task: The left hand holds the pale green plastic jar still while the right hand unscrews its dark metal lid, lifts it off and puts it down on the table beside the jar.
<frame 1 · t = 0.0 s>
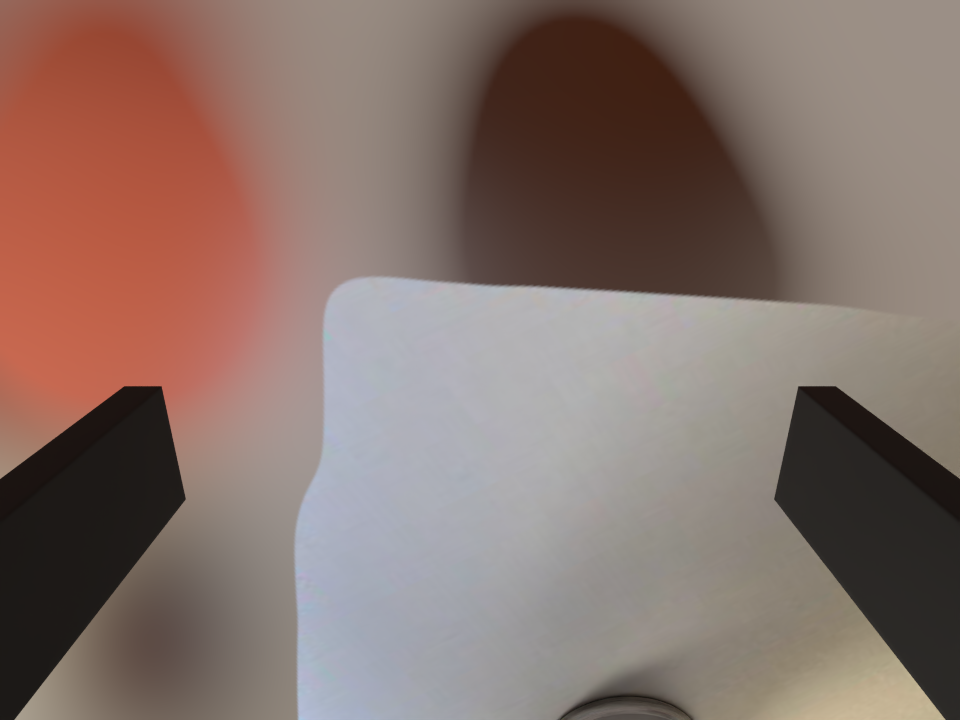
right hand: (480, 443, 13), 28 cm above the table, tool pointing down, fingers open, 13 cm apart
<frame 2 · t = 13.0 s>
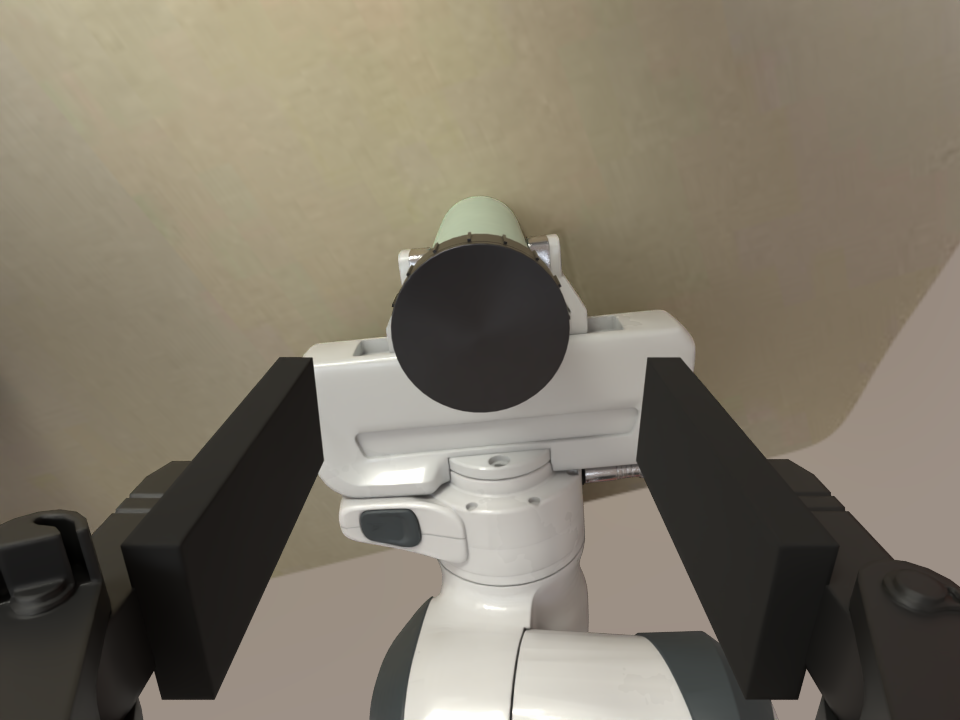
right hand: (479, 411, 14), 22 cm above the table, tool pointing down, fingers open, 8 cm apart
left hand: (477, 243, 29), fingers closed on jar, 5 cm apart
jar: (480, 238, 35), on the table, touching left hand
lid: (480, 329, 20), point 16 cm above the table, screwed on, not yet turned
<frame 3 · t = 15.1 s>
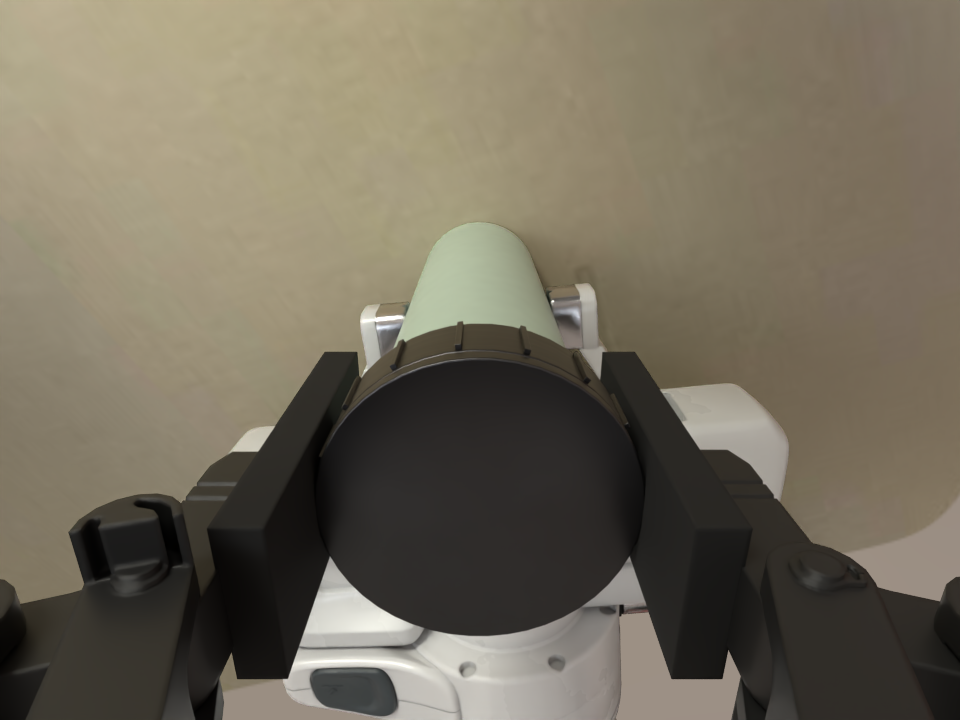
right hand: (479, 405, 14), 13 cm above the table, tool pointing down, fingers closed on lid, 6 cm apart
jar: (479, 277, 26), on the table, touching left hand
lid: (479, 500, 11), point 16 cm above the table, screwed on, not yet turned, touching right hand
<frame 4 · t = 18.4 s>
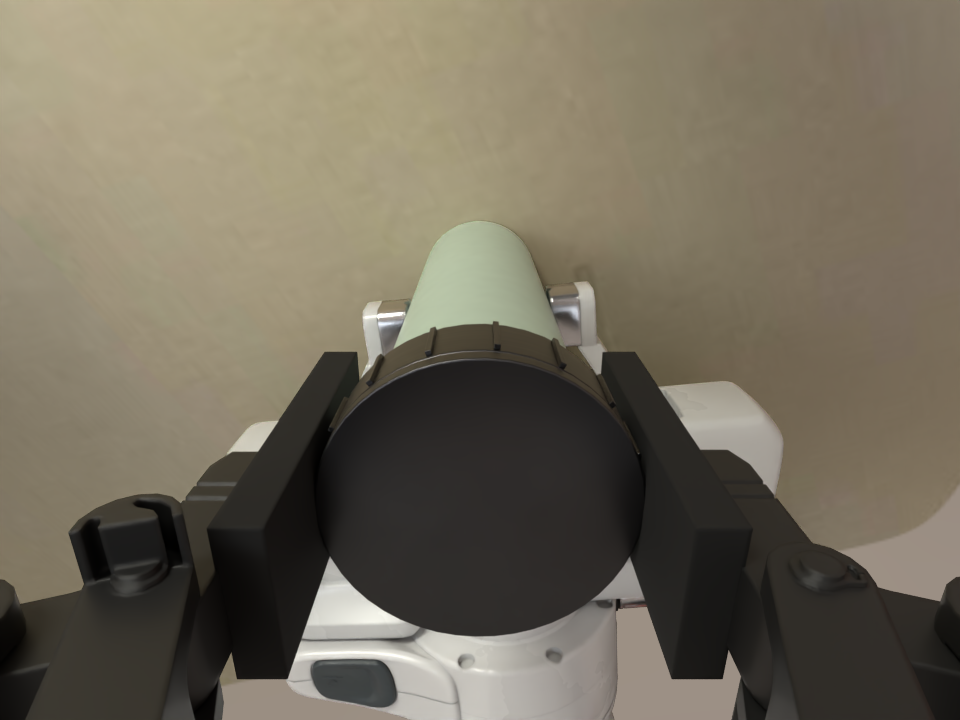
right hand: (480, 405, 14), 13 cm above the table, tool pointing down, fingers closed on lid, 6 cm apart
jar: (479, 276, 26), on the table, touching left hand
lid: (480, 500, 11), point 17 cm above the table, turned 100° so far, risen 0.3 cm, still on its thread, touching right hand
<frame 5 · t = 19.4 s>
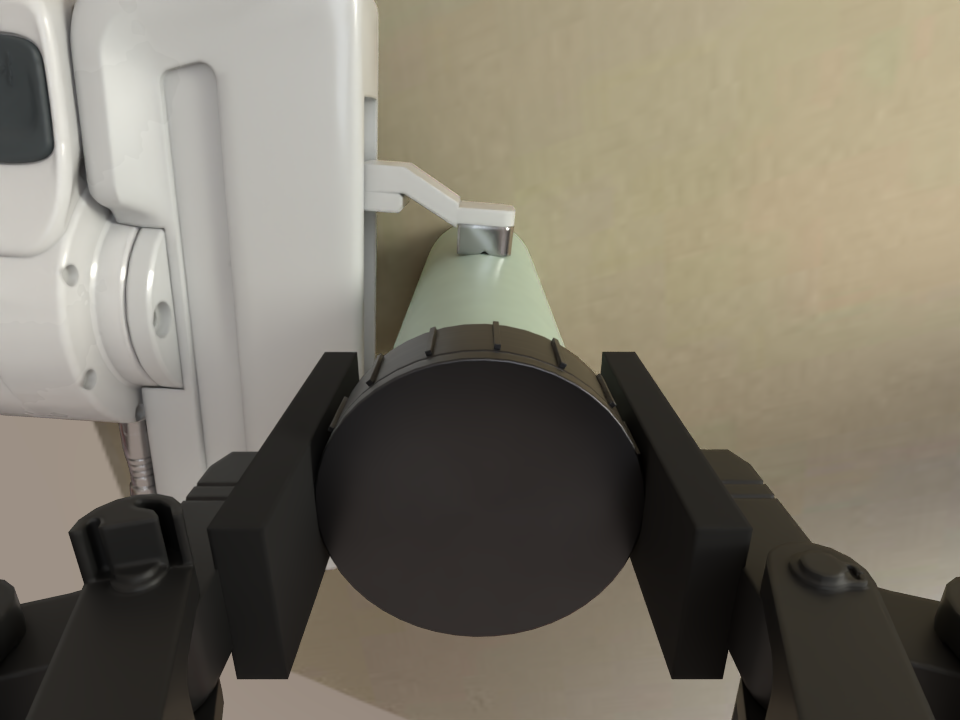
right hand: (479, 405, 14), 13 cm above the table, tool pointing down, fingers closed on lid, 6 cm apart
left hand: (504, 318, 21), fingers closed on jar, 5 cm apart
jar: (479, 274, 27), on the table, touching left hand
lid: (479, 500, 11), point 17 cm above the table, off its thread, touching right hand
when the right hand's fingers open (1 cm above the table, at t = 24.2 s): lid drops 3 cm, point 1 cm above the table.
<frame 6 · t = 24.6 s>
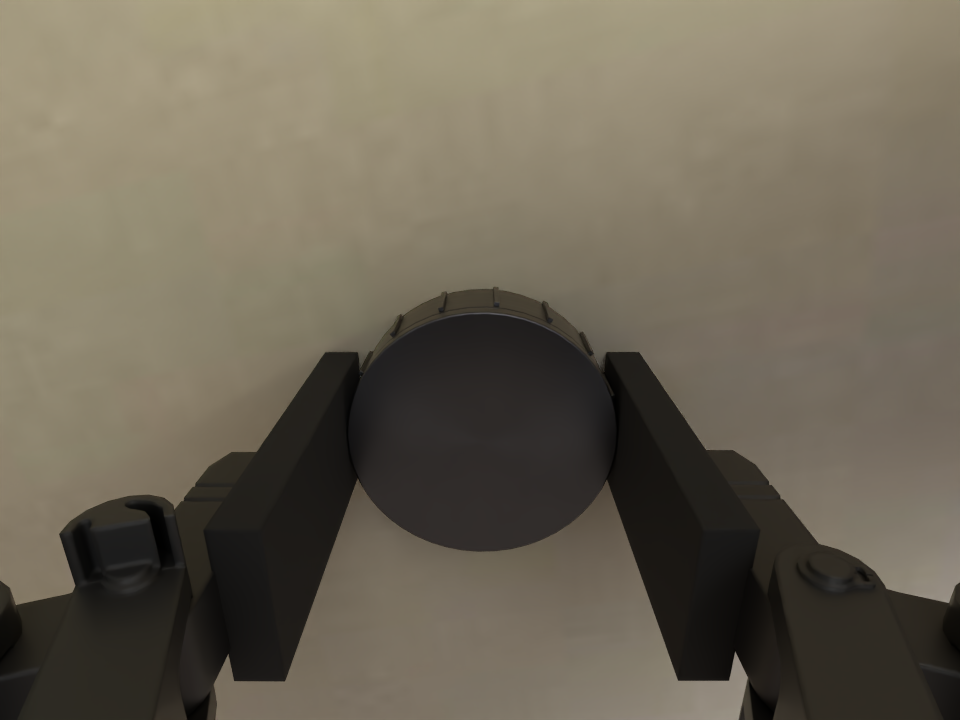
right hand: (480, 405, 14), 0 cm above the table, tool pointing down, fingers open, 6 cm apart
lid: (482, 434, 13), point 1 cm above the table, off its thread, touching right hand
when the left hand's fingers open (6 cm above the table, at t = 26.0 s): jar stays where it is, on the table.
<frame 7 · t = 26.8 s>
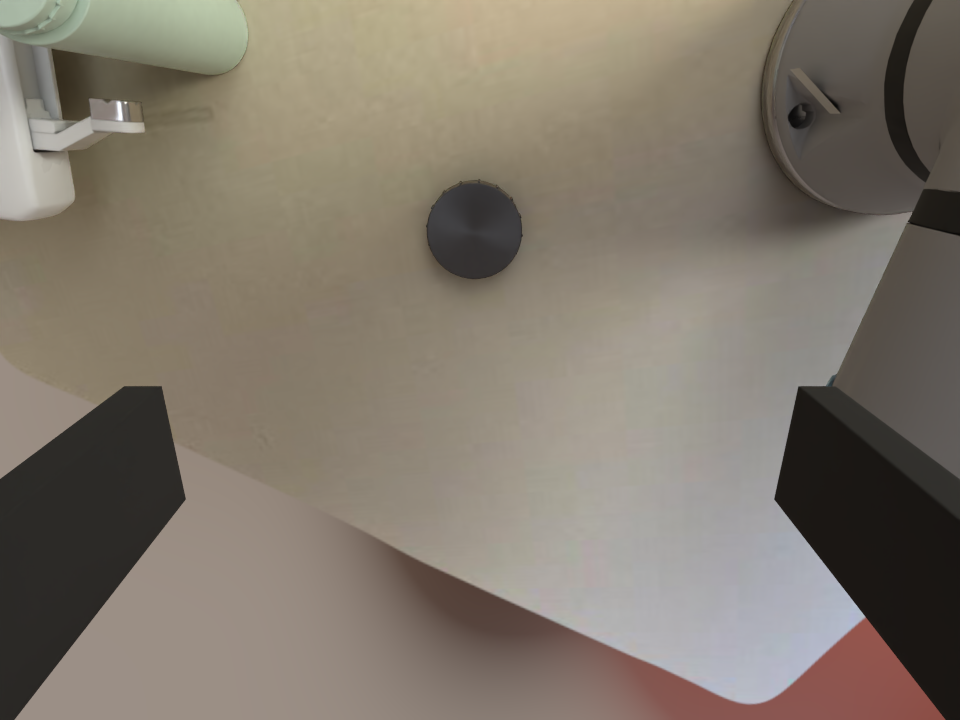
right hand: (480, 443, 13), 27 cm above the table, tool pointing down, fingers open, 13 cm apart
jar: (205, 28, 34), on the table
lid: (474, 231, 37), point 1 cm above the table, off its thread
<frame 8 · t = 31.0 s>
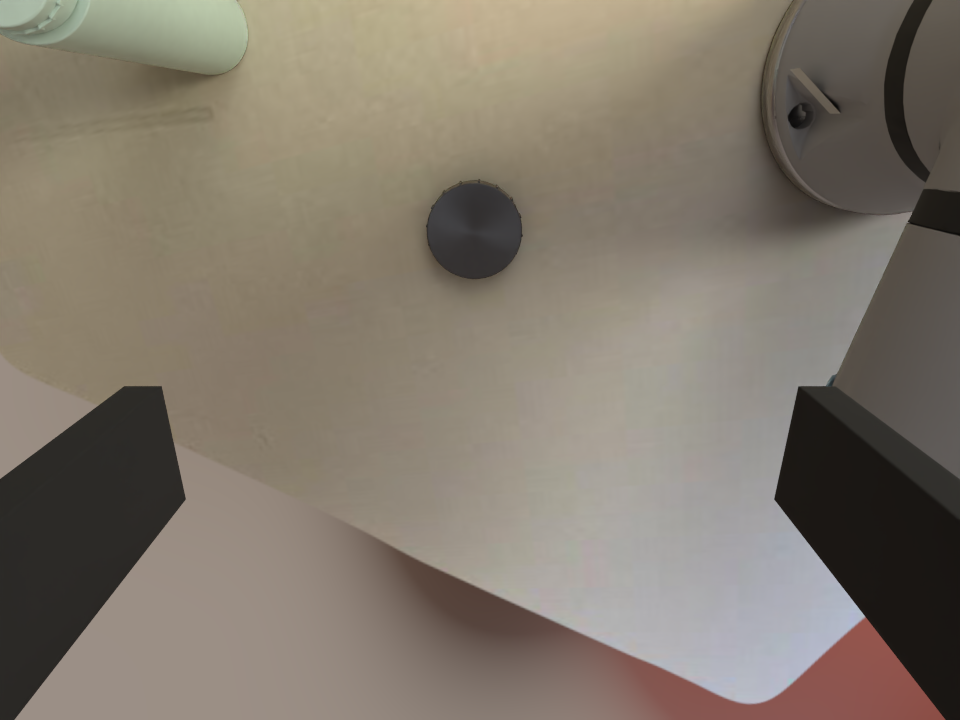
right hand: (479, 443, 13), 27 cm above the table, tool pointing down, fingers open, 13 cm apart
jar: (205, 28, 34), on the table
lid: (474, 231, 37), point 1 cm above the table, off its thread
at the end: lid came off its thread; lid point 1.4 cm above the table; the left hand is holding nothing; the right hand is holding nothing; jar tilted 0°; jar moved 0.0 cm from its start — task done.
